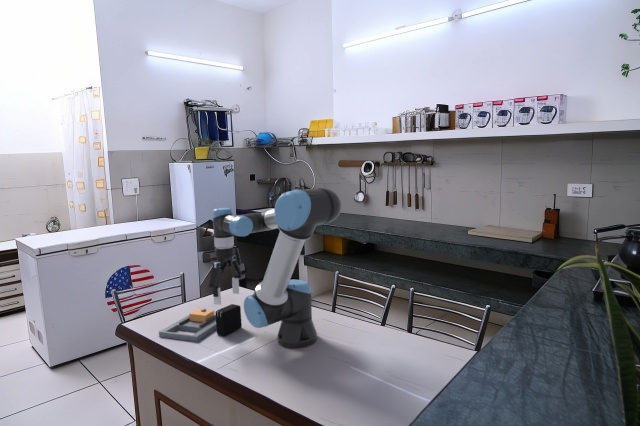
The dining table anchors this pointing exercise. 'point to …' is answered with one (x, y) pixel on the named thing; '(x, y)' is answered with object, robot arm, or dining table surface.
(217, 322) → the electronic device
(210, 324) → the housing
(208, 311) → the orange block with knob
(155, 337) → the dining table surface
